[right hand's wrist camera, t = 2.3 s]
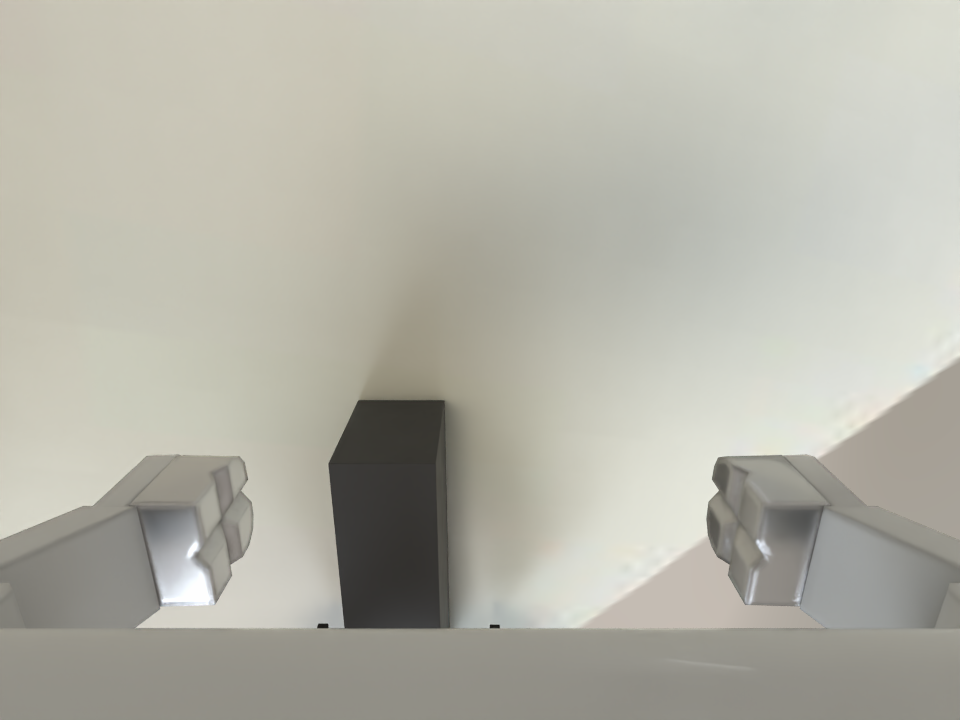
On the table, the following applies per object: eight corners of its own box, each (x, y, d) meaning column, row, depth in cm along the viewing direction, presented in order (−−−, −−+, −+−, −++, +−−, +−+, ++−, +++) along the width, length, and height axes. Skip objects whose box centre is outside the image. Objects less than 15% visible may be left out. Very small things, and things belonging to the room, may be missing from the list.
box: (358, 400, 43) (328, 463, 35) (444, 400, 43) (435, 463, 35) (376, 639, 51) (355, 740, 43) (449, 640, 51) (443, 740, 43)
